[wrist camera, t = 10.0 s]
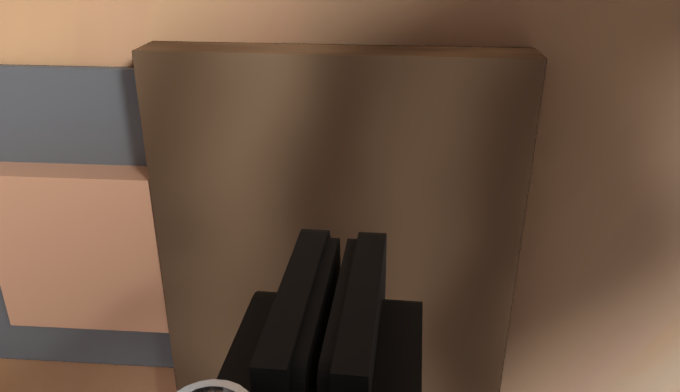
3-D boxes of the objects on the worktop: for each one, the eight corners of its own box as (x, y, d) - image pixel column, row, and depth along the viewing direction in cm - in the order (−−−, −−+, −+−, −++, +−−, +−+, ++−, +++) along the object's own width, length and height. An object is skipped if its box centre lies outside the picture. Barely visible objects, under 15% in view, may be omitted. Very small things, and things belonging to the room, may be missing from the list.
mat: (142, 67, 23) (138, 69, 23) (180, 362, 29) (177, 367, 28) (-154, 61, 24) (-163, 63, 24) (-61, 349, 30) (-66, 354, 29)
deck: (533, 48, 22) (547, 59, 20) (487, 396, 28) (494, 428, 26) (152, 41, 23) (131, 51, 21) (192, 379, 29) (179, 409, 27)
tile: (161, 166, 24) (148, 180, 23) (180, 312, 27) (168, 332, 26) (-6, 161, 25) (-29, 175, 23) (29, 305, 28) (10, 325, 26)
